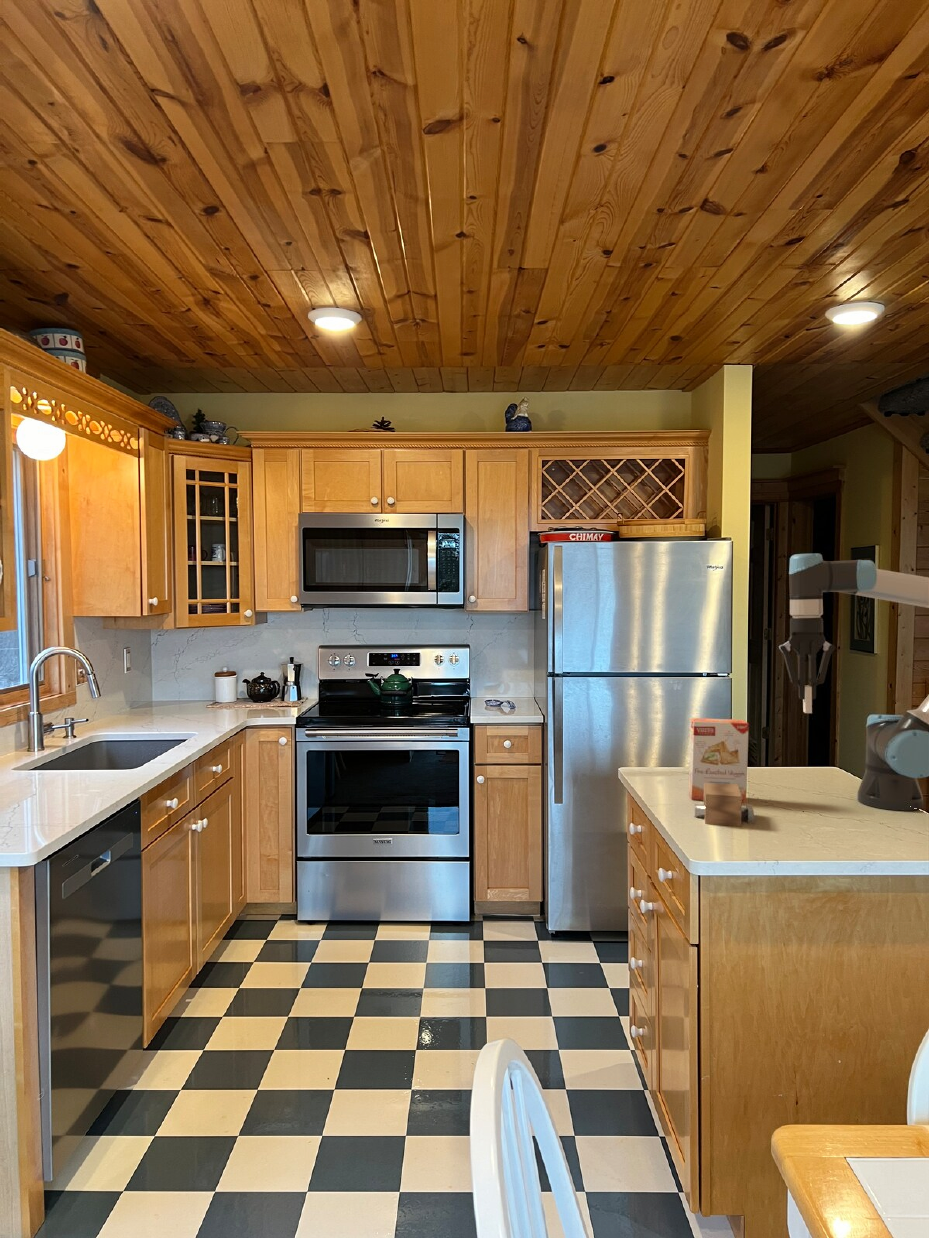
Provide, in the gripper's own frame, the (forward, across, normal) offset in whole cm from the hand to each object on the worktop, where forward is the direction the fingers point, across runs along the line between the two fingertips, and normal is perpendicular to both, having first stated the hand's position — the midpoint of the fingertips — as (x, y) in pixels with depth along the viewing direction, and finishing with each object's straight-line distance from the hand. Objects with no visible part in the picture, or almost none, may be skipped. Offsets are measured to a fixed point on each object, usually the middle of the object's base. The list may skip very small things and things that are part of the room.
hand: (807, 712), depth 206 cm
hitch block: (+24, +22, +10) cm, 34 cm away
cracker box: (+24, +21, -9) cm, 33 cm away
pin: (+24, +22, +10) cm, 34 cm away
